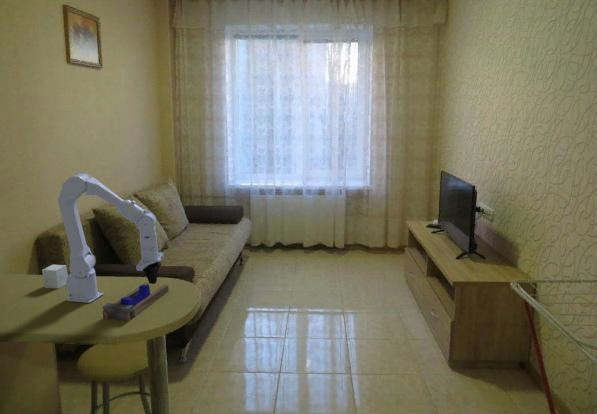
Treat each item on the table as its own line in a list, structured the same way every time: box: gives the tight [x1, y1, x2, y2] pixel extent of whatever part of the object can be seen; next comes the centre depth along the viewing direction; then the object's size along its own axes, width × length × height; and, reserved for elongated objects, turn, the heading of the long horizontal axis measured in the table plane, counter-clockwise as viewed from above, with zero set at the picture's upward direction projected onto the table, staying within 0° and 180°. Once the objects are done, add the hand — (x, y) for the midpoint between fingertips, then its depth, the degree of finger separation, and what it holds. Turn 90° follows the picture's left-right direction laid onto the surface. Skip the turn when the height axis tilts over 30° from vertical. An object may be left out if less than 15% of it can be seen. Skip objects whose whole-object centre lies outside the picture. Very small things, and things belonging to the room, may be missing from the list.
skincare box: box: [41, 264, 69, 290], centre depth 176 cm, size 6×6×7 cm
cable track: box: [101, 282, 169, 322], centre depth 158 cm, size 9×24×4 cm, turn 165°
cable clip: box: [120, 284, 151, 306], centre depth 155 cm, size 12×4×6 cm, turn 166°
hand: (152, 283), depth 167 cm, fingers closed
